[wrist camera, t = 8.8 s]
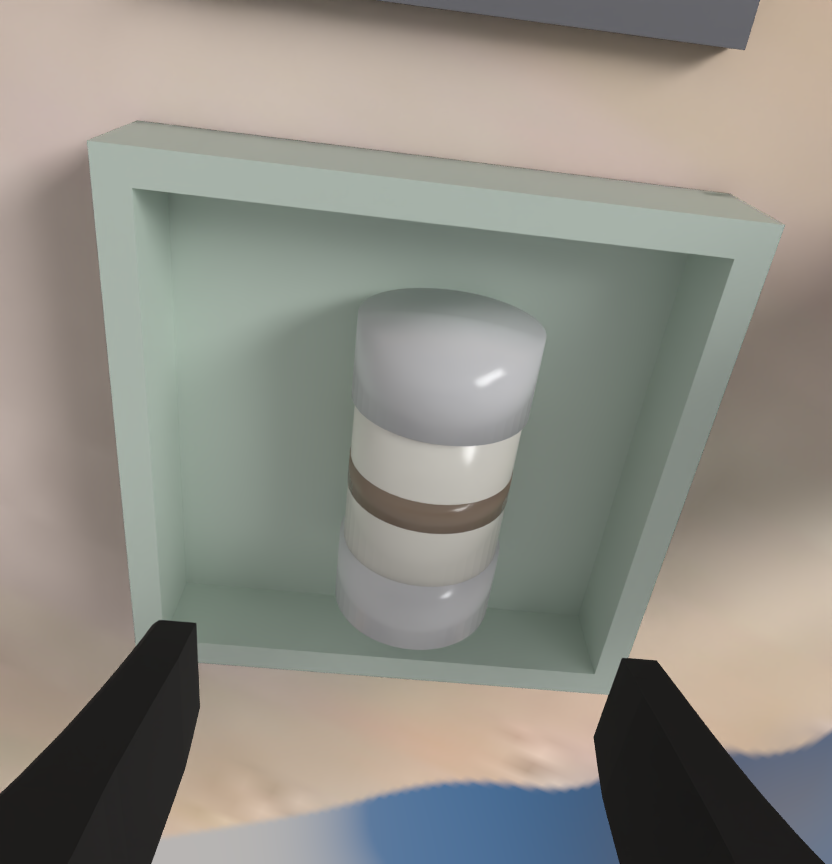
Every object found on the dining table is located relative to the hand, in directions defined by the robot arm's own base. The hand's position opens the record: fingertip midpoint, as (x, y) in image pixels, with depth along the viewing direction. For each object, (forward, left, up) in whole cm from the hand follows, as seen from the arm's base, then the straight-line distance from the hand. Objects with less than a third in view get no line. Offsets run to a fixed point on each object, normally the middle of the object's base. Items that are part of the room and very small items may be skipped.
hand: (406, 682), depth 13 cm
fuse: (0, 0, -9) cm, 9 cm away
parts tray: (0, 0, -9) cm, 9 cm away
